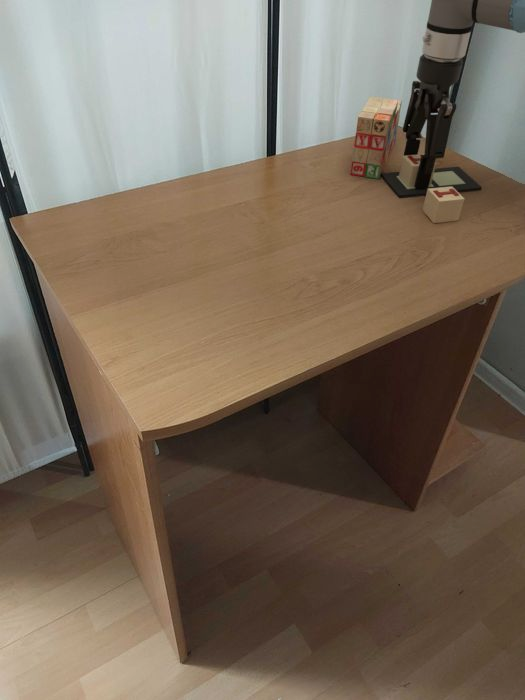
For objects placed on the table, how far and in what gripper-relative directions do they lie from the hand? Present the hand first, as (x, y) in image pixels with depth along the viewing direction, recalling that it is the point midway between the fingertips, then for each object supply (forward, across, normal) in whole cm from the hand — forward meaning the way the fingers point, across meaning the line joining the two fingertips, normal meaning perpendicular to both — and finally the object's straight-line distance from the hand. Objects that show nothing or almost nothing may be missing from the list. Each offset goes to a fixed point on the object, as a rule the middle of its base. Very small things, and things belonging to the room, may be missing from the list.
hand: (414, 178), depth 111 cm
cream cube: (0, 0, 0) cm, 0 cm away
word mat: (+1, 0, +4) cm, 4 cm away
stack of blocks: (+1, -14, -3) cm, 14 cm away
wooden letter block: (+1, +13, 0) cm, 13 cm away
